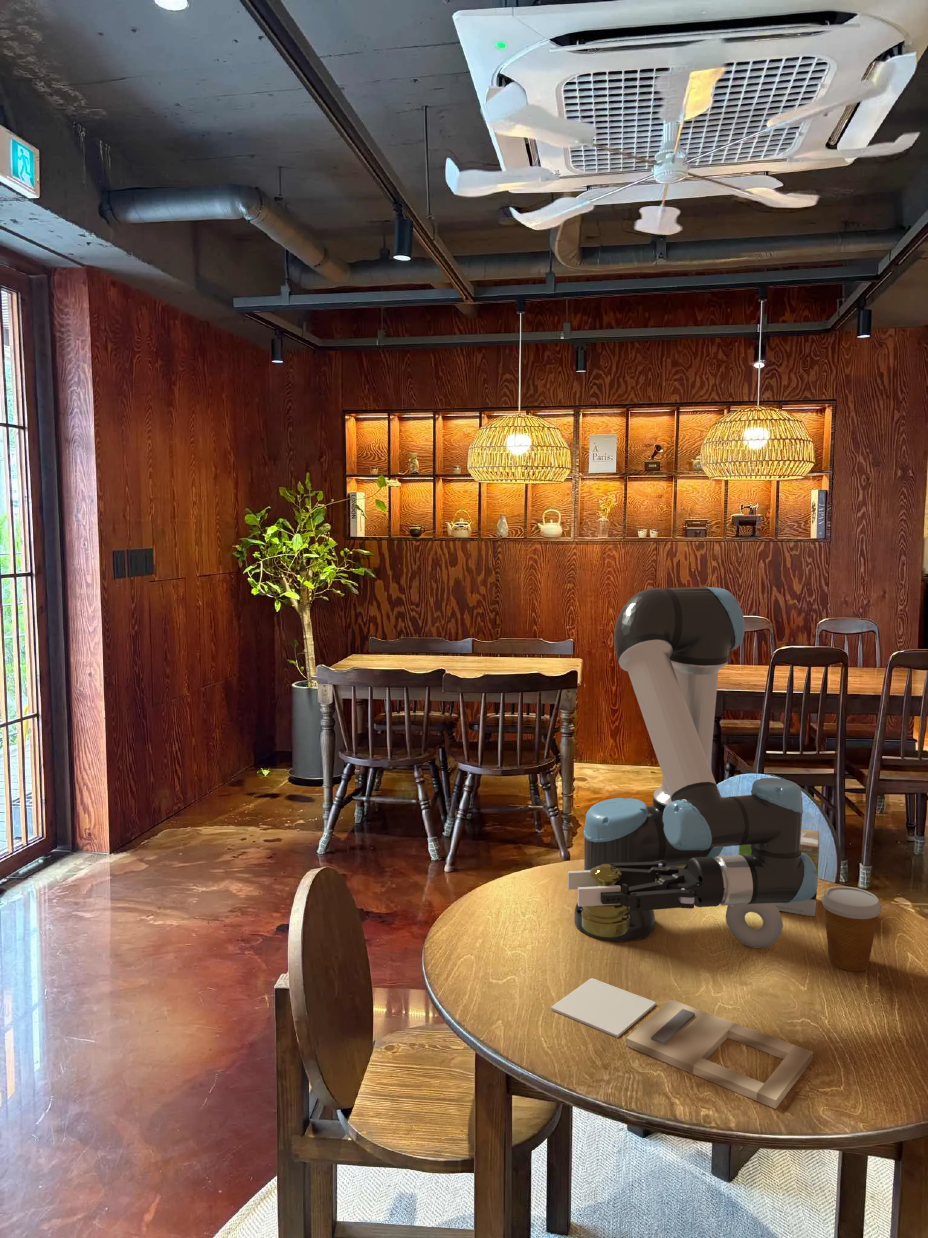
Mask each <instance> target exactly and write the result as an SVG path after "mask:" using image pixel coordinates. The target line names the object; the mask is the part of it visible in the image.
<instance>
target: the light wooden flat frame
mask: <svg viewBox="0 0 928 1238" xmlns="http://www.w3.org/2000/svg"><path fill="white" fill-rule="evenodd" d="M727 1039H729V1040H732V1041H735V1042H738V1043H740V1044H743V1045H745V1046H747V1047H750V1048H753V1049H756V1050H758V1051H761V1052H764V1053H767V1054H769V1055H772V1056H774V1057H777V1058H779V1059H782V1060H781V1062H780V1064H779V1065H778V1066H777V1067H776V1068H775V1070H774V1071H773V1072H772V1073H771V1074H770V1076H769V1077H768V1078H767V1080H765V1082H762V1081H760V1080H757V1079H755V1078H752V1077H749V1076H747V1075H745V1074H742V1073H740V1072H737V1071H735V1070H733V1069H730V1068H727V1067H725V1066H723V1065H720V1064H718V1063H715V1062H714V1061H713V1062H712V1061H710V1060H708V1059H709V1058H710V1057H711V1056H712V1055H713V1054H714V1052H716V1051H717V1050H718V1048H720V1047H721V1045H723V1043H724V1042H726V1040H727ZM625 1046H626V1047H628V1048H630V1049H631V1050H635V1051H637V1052H640V1053H642V1054H644V1055H647V1056H649V1057H652V1058H654V1059H657V1060H658V1061H661V1062H662V1063H663V1062H664V1063H665V1064H669V1065H671V1066H672V1067H673V1066H674V1067H675V1068H677V1069H680V1070H683V1071H685V1072H687V1073H689V1074H691V1075H694V1076H697V1077H699V1078H702V1079H703V1080H706V1081H708V1082H711V1083H713V1084H715V1085H719V1086H720V1087H723V1088H725V1089H727V1090H730V1091H732V1092H734V1093H737V1094H739V1095H741V1096H744V1097H745V1098H749V1099H751V1100H754V1101H755V1102H759V1103H761V1104H763V1105H766V1106H767V1107H770V1108H772V1109H775V1110H776V1109H777V1107H778V1106H779V1105H780V1104H781V1103H782V1102H783V1100H784V1098H785V1097H786V1096H787V1095H788V1093H789V1092H790V1090H791V1089H792V1088H793V1087H794V1085H795V1084H796V1083H797V1081H798V1080H799V1079H800V1077H801V1076H802V1074H803V1073H804V1072H805V1071H806V1069H807V1068H808V1067H809V1065H810V1064H811V1063H812V1061H813V1059H814V1055H813V1054H814V1052H813V1050H812V1051H811V1050H809V1049H806V1048H803V1047H800V1046H798V1045H795V1044H793V1043H791V1042H790V1043H789V1042H787V1041H784V1040H782V1039H779V1038H776V1037H774V1036H771V1035H768V1034H765V1033H763V1032H761V1031H758V1030H755V1029H752V1028H750V1027H748V1026H744V1025H741V1024H739V1023H736V1022H734V1021H731V1020H728V1019H725V1018H723V1017H720V1016H717V1015H714V1014H712V1013H709V1012H707V1011H703V1010H701V1009H698V1008H695V1007H693V1006H690V1005H688V1004H685V1003H682V1002H680V1001H677V1000H674V999H671V998H670V999H669V1000H668V1001H667V1002H666V1003H665V1004H663V1006H661V1007H660V1008H658V1010H657V1011H655V1013H653V1014H652V1015H651V1016H649V1018H647V1020H645V1021H644V1022H642V1024H640V1025H639V1026H638V1027H637V1028H636V1029H635V1030H634V1031H632V1032H631V1033H630V1034H629V1035H627V1036H626V1037H625Z"/></svg>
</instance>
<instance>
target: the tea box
mask: <svg viewBox="0 0 928 1238" xmlns="http://www.w3.org/2000/svg"><path fill="white" fill-rule="evenodd" d="M800 848H801V853H805V854H807V855H808V856H809V857H810V858H811V859H812V861H813V863H814V865H815V867H816V875H817V877H819V876H818V875H819V862H820V861H819V858H820V856H819V855H820V831H819V830H814V829H807V828H801V840H800ZM750 854H751V844H749V845H738V854H737V855H750ZM817 894H818V889H817V890H816V893H815V894H814V896H813V897H812V898H811V899H809V900H805V901H800V902H791V903H773V904H774V905H775V906H776V907H777V908H778V910H779V912H785V913H790V914H796V915H800V914H801V916H805V915H806V916H807V917H810V916H814V917H815V915H816V910H817V909H816V906H817Z"/></svg>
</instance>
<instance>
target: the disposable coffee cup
mask: <svg viewBox="0 0 928 1238" xmlns="http://www.w3.org/2000/svg"><path fill="white" fill-rule="evenodd" d="M821 903H822V906H823V907H824V908H823V909H824V910H823V911H824V918H825V929H826V940H827V951H828V960H829V963H831V964H832V965H833V966H834V967H837V968H839V969H841V970H845V971H849V972H851V971H852V972H862V971H866V970H867V969H869V968H868V967H869V964H870V959H871V954H872V948H873V943H874V939H875V933H876V927H877V923H878V916H879V915H880V912H881V911H882V905H881V903H880V900H879V898H878V897H877V896H876V895H875V894H873V893H872V892H870V891H867V890H864V889H860V888H857V887H851V886H844V885H842V886H831V887H828V888H826V890H824V894H823V895H822V896H821Z"/></svg>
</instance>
